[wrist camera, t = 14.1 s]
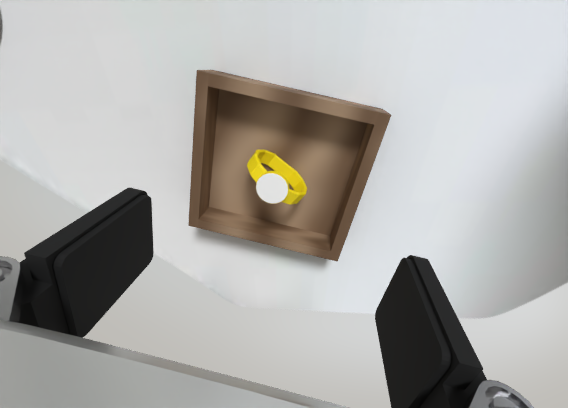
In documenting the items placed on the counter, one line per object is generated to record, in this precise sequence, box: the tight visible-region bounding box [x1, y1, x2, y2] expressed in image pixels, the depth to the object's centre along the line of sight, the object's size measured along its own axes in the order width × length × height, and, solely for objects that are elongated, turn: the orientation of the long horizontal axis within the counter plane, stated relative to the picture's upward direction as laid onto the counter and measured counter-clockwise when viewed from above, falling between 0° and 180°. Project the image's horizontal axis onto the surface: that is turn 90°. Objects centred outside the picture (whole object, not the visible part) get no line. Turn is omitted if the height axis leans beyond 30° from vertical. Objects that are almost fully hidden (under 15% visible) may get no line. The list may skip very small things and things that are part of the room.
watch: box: [247, 150, 307, 205], centre depth 26 cm, size 6×3×6 cm, turn 52°
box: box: [189, 70, 391, 261], centre depth 27 cm, size 16×15×4 cm
